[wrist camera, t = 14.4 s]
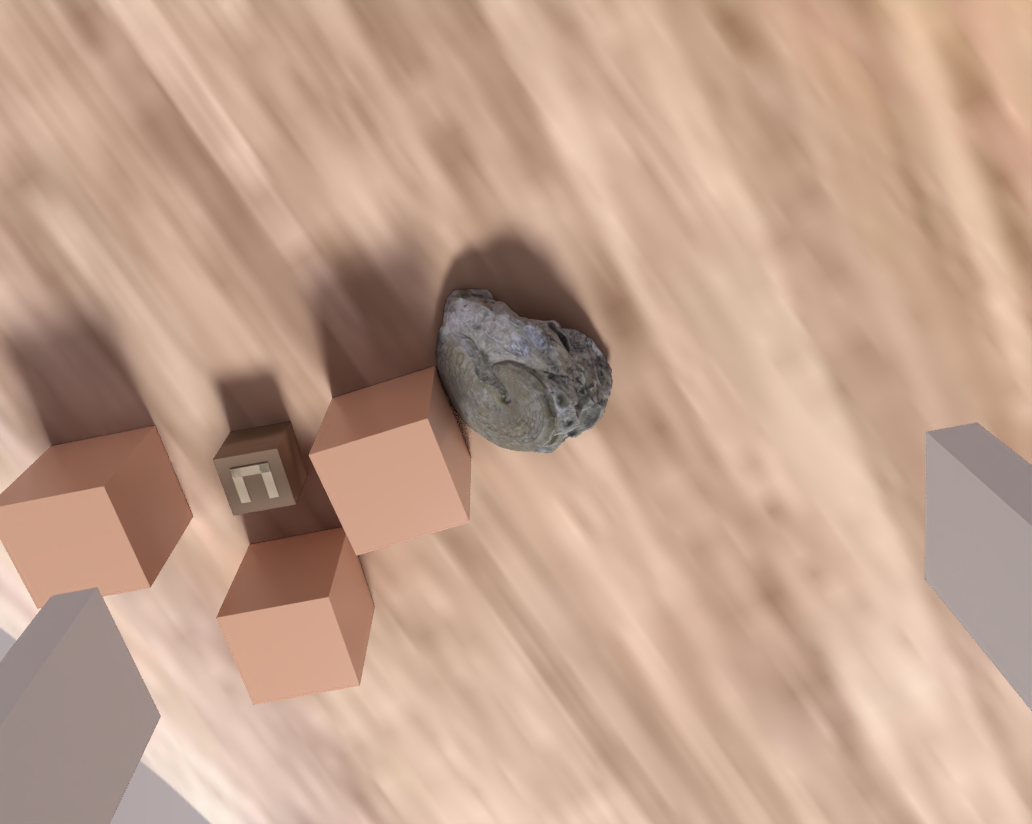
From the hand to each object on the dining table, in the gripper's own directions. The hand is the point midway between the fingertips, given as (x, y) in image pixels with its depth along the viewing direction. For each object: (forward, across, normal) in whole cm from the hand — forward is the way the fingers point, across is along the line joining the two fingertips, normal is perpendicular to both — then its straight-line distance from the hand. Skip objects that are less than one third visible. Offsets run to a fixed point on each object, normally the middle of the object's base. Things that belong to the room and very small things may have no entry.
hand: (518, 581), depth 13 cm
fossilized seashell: (+39, 0, -11) cm, 41 cm away
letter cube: (+39, -18, -14) cm, 45 cm away
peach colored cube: (+39, -9, -14) cm, 42 cm away
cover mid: (+39, -18, -24) cm, 49 cm away
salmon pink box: (+39, -28, -14) cm, 50 cm away
